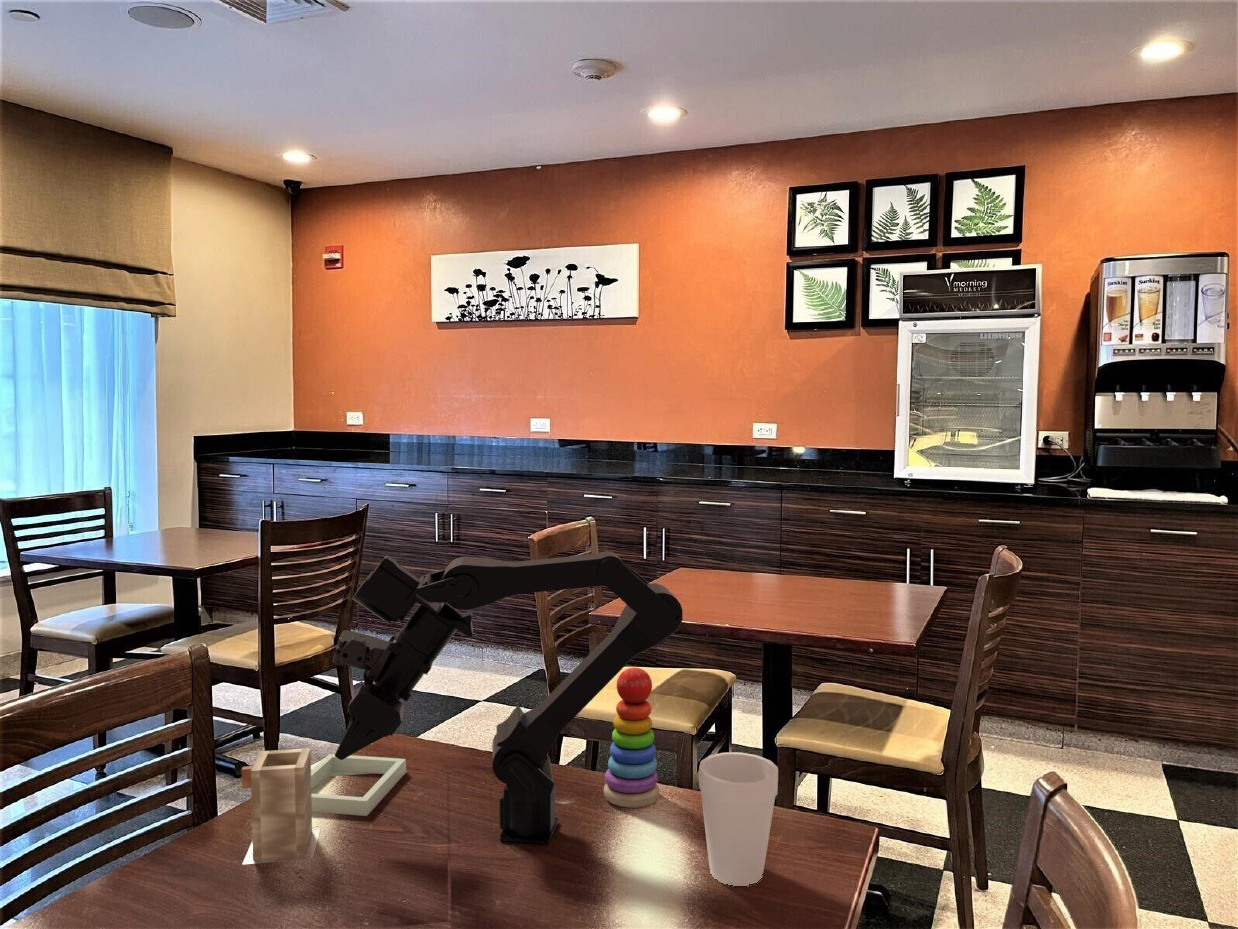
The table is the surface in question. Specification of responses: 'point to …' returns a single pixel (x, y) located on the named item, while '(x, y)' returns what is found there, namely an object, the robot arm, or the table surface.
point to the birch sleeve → (280, 802)
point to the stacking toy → (632, 745)
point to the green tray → (353, 766)
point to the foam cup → (737, 814)
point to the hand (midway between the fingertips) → (344, 743)
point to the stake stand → (307, 855)
